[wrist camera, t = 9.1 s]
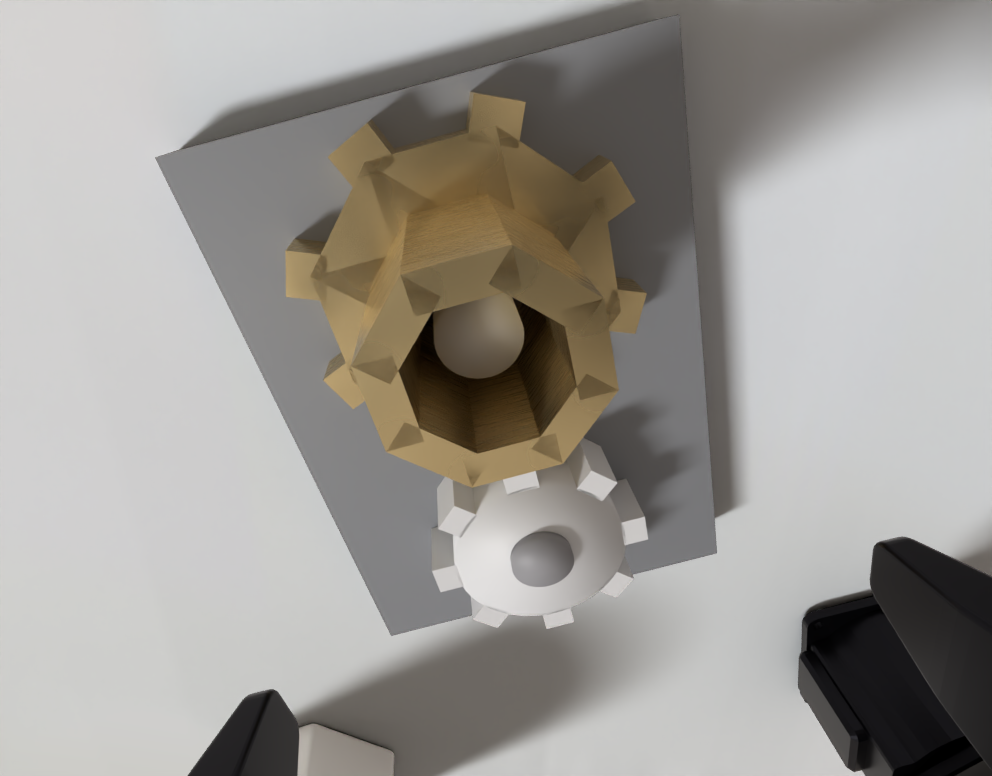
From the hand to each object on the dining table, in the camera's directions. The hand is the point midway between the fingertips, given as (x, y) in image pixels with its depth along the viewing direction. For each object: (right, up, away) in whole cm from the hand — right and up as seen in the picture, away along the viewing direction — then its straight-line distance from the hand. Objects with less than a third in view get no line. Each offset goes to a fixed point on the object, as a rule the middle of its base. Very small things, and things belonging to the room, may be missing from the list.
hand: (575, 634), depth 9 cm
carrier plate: (-1, +4, +11) cm, 12 cm away
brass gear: (-2, +7, +8) cm, 10 cm away
